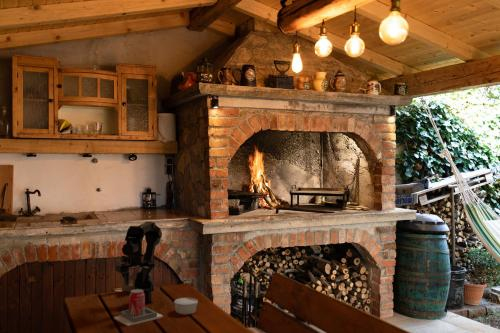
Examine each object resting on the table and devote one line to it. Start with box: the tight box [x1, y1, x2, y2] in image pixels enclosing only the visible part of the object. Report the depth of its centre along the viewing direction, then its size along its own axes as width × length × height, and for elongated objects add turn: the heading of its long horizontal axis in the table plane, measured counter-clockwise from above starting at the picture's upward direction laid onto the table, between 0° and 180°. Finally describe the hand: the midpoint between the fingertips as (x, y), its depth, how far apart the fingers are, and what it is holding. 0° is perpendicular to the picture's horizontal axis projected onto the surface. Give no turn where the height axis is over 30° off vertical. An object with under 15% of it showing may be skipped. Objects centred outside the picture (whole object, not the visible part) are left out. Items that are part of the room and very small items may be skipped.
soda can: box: [128, 289, 146, 317], centre depth 211 cm, size 7×7×12 cm
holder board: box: [113, 306, 164, 327], centre depth 212 cm, size 18×13×3 cm
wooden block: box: [121, 264, 142, 293], centre depth 254 cm, size 4×11×18 cm, turn 70°
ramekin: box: [173, 297, 199, 316], centre depth 222 cm, size 11×11×5 cm
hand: (135, 283), depth 222 cm, fingers open, 9 cm apart
